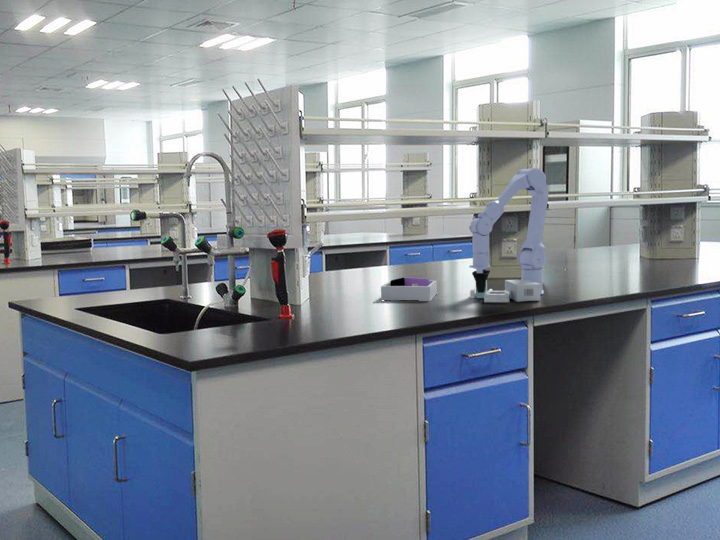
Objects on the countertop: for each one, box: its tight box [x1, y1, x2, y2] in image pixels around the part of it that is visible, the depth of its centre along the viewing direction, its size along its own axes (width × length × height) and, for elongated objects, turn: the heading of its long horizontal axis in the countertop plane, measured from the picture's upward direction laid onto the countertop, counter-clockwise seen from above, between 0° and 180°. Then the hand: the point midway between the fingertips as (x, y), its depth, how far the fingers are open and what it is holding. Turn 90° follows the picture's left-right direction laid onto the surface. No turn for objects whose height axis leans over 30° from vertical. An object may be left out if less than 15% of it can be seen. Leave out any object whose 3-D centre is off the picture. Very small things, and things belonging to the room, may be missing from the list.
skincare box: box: [504, 278, 541, 303], centre depth 259 cm, size 8×6×15 cm
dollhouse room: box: [389, 277, 430, 286], centre depth 269 cm, size 12×12×7 cm
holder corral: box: [380, 280, 438, 302], centre depth 269 cm, size 17×17×5 cm
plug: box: [475, 278, 488, 299], centre depth 265 cm, size 4×4×7 cm
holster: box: [469, 288, 494, 299], centre depth 265 cm, size 6×7×2 cm
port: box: [483, 290, 511, 304], centre depth 255 cm, size 10×8×3 cm
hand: (481, 291), depth 265 cm, fingers closed on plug, 4 cm apart
